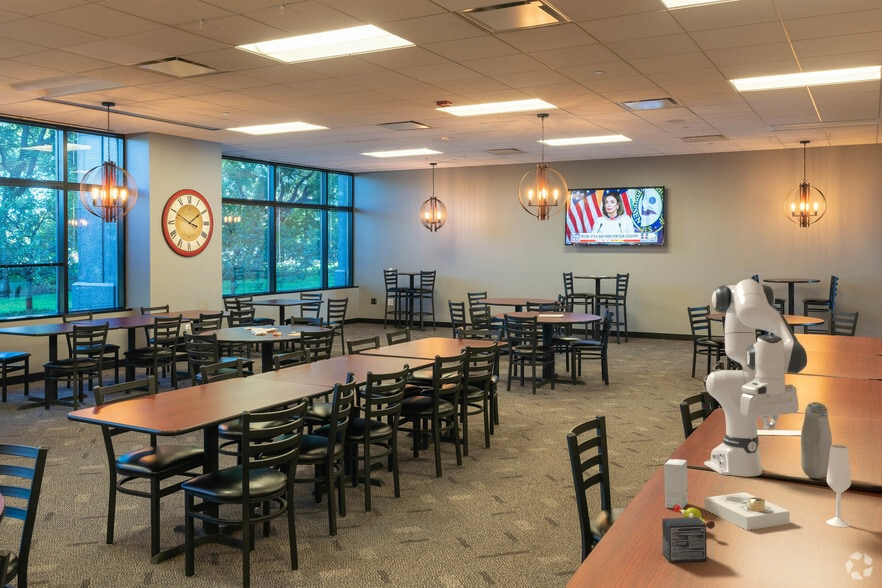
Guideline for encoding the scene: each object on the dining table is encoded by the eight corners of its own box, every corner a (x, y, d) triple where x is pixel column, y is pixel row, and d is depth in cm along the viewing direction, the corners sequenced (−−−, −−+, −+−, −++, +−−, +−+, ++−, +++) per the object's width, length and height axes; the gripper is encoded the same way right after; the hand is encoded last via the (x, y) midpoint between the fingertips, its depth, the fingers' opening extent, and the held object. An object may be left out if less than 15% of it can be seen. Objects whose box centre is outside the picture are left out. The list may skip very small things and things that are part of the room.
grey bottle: (834, 482, 278) (835, 405, 276) (804, 481, 280) (805, 405, 278) (826, 474, 287) (827, 400, 286) (797, 473, 290) (798, 399, 288)
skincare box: (682, 510, 251) (682, 465, 250) (663, 507, 254) (663, 463, 253) (688, 503, 258) (688, 459, 257) (669, 500, 261) (669, 457, 260)
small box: (698, 552, 216) (698, 516, 215) (707, 562, 209) (707, 524, 209) (661, 553, 215) (661, 517, 215) (669, 563, 209) (669, 525, 208)
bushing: (746, 520, 241) (746, 498, 240) (757, 518, 242) (758, 496, 242) (756, 525, 236) (756, 502, 236) (767, 523, 238) (768, 500, 237)
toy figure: (666, 521, 240) (666, 500, 240) (680, 519, 242) (680, 498, 242) (704, 541, 224) (704, 518, 223) (720, 538, 226) (720, 516, 225)
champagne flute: (829, 518, 241) (829, 442, 240) (852, 522, 237) (853, 445, 236) (823, 524, 236) (824, 447, 235) (848, 528, 232) (848, 450, 230)
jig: (704, 509, 251) (704, 497, 251) (745, 504, 256) (745, 492, 256) (746, 530, 232) (746, 517, 232) (789, 523, 237) (789, 511, 237)
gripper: (788, 382, 252) (788, 424, 253) (737, 386, 246) (737, 429, 246) (803, 385, 246) (803, 428, 247) (750, 390, 240) (750, 433, 240)
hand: (769, 428), depth 246 cm, fingers closed
